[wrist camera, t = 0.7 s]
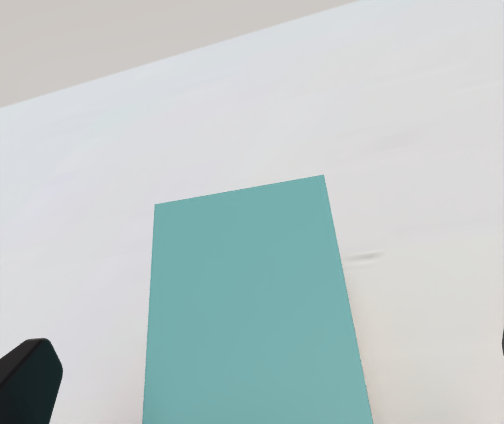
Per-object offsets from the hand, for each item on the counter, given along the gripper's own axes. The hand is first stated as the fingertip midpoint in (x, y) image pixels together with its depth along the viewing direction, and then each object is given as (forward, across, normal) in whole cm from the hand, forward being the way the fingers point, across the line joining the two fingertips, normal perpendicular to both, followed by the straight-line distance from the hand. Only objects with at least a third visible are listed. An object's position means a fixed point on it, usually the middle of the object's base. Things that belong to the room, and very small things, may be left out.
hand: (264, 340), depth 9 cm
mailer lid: (+5, +1, +7) cm, 9 cm away
